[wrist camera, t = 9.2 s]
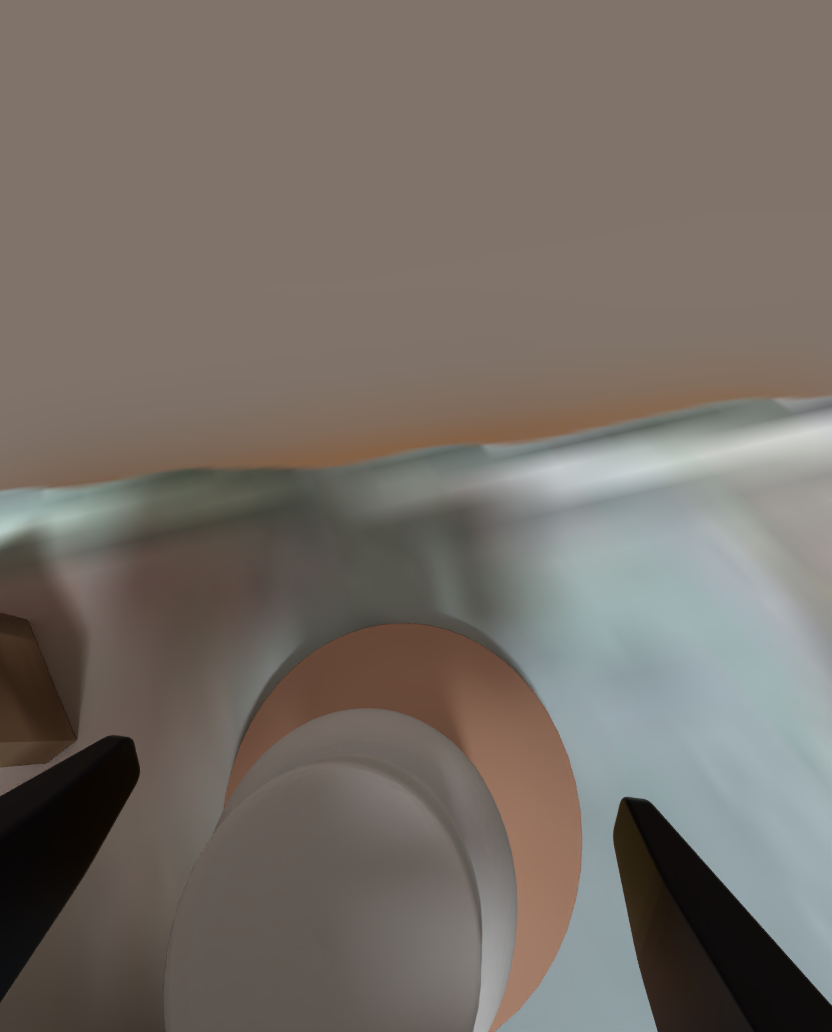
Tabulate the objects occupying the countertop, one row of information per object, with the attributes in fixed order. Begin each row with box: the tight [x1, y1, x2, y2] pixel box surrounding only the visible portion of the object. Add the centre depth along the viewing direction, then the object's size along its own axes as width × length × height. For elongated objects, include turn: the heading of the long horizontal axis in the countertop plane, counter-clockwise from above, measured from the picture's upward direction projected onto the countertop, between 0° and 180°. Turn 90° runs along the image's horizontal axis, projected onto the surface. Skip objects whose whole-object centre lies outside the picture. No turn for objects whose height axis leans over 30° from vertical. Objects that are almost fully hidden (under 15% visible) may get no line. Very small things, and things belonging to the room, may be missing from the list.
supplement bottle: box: [163, 708, 517, 1032], centre depth 10 cm, size 6×6×10 cm
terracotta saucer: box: [224, 623, 582, 1032], centre depth 15 cm, size 12×12×1 cm
